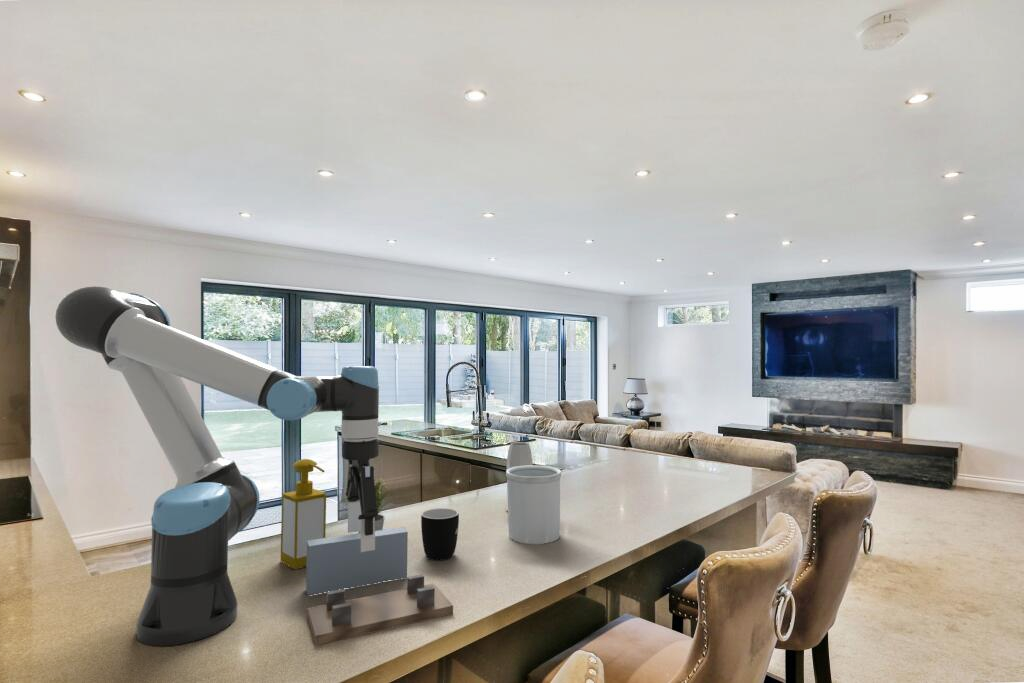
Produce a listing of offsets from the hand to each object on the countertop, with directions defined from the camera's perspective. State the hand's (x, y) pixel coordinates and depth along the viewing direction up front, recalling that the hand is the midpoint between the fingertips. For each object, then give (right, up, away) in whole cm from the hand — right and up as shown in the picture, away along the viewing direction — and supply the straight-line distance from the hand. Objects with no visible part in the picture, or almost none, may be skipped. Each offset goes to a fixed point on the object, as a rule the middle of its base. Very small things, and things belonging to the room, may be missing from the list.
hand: (360, 540), depth 111 cm
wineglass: (+34, -12, +55) cm, 65 cm away
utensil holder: (+38, -11, +30) cm, 49 cm away
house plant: (-5, -10, +26) cm, 29 cm away
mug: (+14, -10, +17) cm, 24 cm away
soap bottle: (-15, -9, +10) cm, 20 cm away
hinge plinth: (+8, -8, -14) cm, 18 cm away
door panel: (0, -9, 0) cm, 9 cm away
